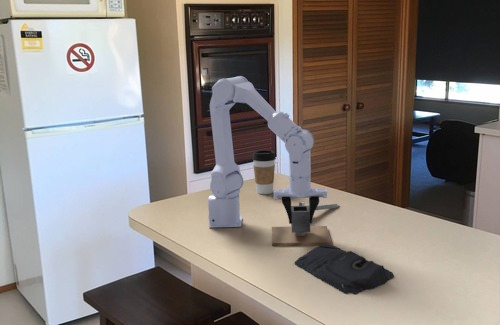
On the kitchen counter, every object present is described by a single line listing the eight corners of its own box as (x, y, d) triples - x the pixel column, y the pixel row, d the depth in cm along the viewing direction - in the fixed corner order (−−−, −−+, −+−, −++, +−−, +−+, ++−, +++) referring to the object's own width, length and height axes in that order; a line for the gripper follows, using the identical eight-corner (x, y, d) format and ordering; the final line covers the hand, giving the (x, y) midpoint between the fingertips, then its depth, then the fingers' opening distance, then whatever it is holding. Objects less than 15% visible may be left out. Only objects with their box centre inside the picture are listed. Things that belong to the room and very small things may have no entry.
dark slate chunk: (334, 249, 140) (335, 232, 138) (399, 280, 122) (400, 261, 121) (289, 264, 131) (289, 246, 130) (351, 299, 114) (352, 279, 112)
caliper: (299, 223, 158) (299, 203, 157) (296, 222, 159) (296, 203, 158) (339, 206, 172) (339, 188, 171) (336, 206, 173) (337, 187, 171)
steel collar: (291, 232, 144) (291, 211, 143) (290, 225, 149) (290, 205, 147) (310, 232, 144) (310, 211, 142) (308, 225, 149) (308, 205, 147)
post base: (271, 248, 142) (271, 230, 141) (271, 231, 154) (271, 215, 152) (331, 247, 141) (331, 230, 140) (326, 230, 153) (326, 214, 152)
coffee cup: (251, 195, 186) (250, 153, 182) (255, 188, 194) (254, 148, 190) (274, 195, 184) (274, 154, 181) (277, 188, 193) (277, 148, 189)
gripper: (273, 179, 139) (274, 228, 143) (328, 178, 139) (328, 227, 142) (273, 172, 146) (273, 218, 149) (325, 171, 146) (325, 218, 149)
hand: (300, 222), depth 146 cm, fingers closed on steel collar, 5 cm apart
